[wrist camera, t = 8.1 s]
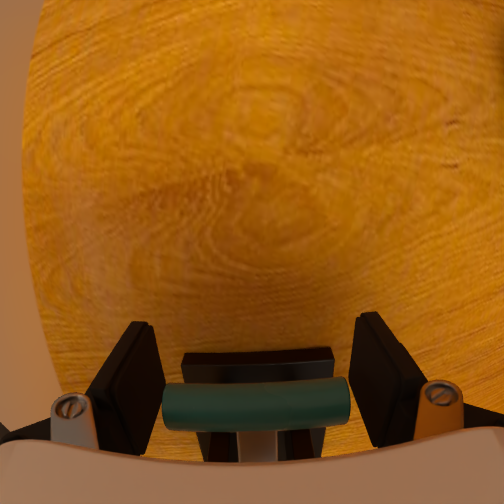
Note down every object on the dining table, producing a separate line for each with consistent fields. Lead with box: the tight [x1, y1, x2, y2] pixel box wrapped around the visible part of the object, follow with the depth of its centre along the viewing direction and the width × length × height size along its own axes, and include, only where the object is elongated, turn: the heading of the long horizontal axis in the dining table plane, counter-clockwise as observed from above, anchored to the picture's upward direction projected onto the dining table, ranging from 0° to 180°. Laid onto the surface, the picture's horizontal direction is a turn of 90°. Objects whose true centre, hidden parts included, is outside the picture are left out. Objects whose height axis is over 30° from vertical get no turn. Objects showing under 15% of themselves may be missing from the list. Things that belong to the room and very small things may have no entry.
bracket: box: [181, 347, 335, 463], centre depth 12 cm, size 10×8×13 cm
